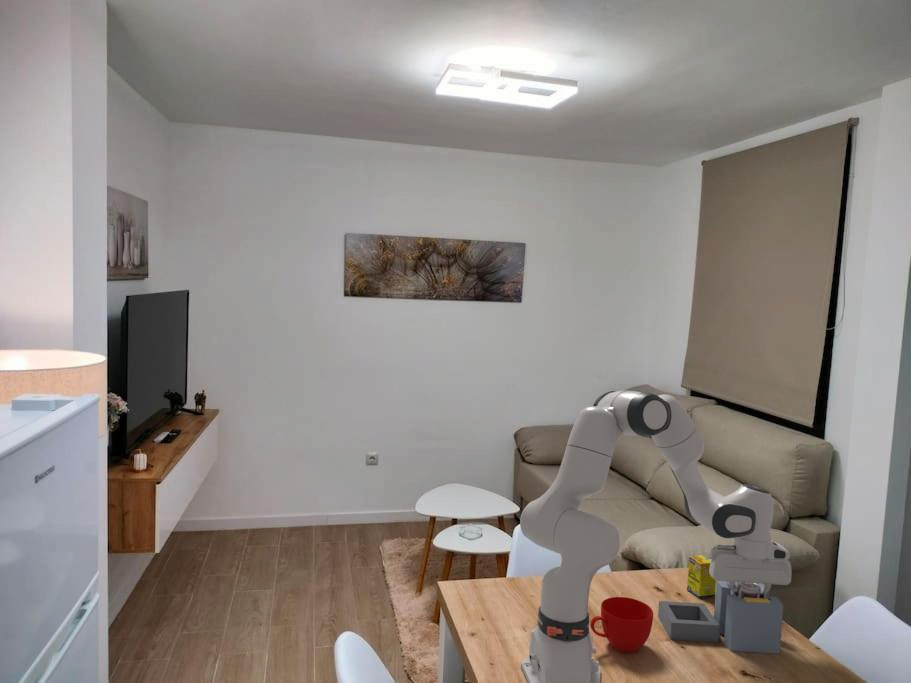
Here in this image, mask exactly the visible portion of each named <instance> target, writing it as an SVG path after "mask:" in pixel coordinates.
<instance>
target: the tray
mask: <svg viewBox="0 0 911 683" xmlns="http://www.w3.org/2000/svg"><path fill="white" fill-rule="evenodd" d="M657 617H658V619H659V621H660V623H661V625H662V627H663V628H664V631H665V632H666V634H667V636H668V638H669V640H677V641H678V640H681V641H693V642H694V641H695V642H707V643H709V642H710V643H711V642H713V643H719V642H720V641H719V640H720V639H719V638H720V634H719V628H720V625H719V624H718V622H717V621H716V620H715V618H714V614H712V613H711V611H710V610H709V608H708V607H707V606H706V605H705V603H700V602H684V601H682V602H681V601H667V600H666V601H665V600H659V601H658V611H657Z"/></svg>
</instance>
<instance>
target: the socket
mask: <svg viewBox="0 0 911 683" xmlns="http://www.w3.org/2000/svg"><path fill="white" fill-rule="evenodd" d="M736 584H737V582H735V586H736ZM757 584H759V586H760V591H761V589H762V588H763V586H764V585H763V584H760V583H757ZM735 586H733V587H734V589H735ZM770 591H771V590H769V591H768V592H767V594H766V599H762V598H745V597H744V599H742V598H738V597H737V596H736V595H735V594H730V593H731V589H730V587H729V585H728V583H727V581H716V589H715V597H714V608H713V609H714V612H713V617H714V618H715V620H716V621H717V622H718V624H719V625H720V628H719V635H724V637H723V643H724V644H725V646H726V648H727V649H728V650H729V652H730V651H731V652H732V651H733V652H747V653H749V652H750V653H764V654H777V655H778V654H780V652H781V638H782V627H783V613H784V604H783V602H782V601H781V600H780V599H779V598H778V597H777V596H770ZM780 655H781V654H780Z"/></svg>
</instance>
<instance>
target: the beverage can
mask: <svg viewBox="0 0 911 683" xmlns="http://www.w3.org/2000/svg"><path fill="white" fill-rule="evenodd" d="M735 590H736V591H737V592H738V598H742V599H744V597H745V598H760V586H759V584H757V583H744V582H737V584H736V586H735Z"/></svg>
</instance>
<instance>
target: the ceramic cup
mask: <svg viewBox="0 0 911 683" xmlns="http://www.w3.org/2000/svg"><path fill="white" fill-rule="evenodd" d="M653 620H654V611H653V609H652V607H651V606H649V605H648V604H647V603H645V602H643V601H641V600H638V599H635V598H632V597H625V596H612V597H608V598H605V599H604V600H602V602H601V604H600V615H597V616H594V617H592V619H591V620H590V622H589V627H590V629H591V631H592V632H593V633H594V634H595V635H597V636H598V637H602V638H606V639H607V640H608V642H609V643H610V645H611V646H612V647H613V649H615V650H616V651H619V652H621V653H627V654H629V653H630V654H632V653H635V652H637V651H638V650H640V648H642V646H644V644H646V642H647V641H648V639H649V637H650V635H651V631H652V626H653ZM597 621H601V626H602V631H603V632H599V631H597V630H596V629H595V624H596V622H597Z"/></svg>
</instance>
